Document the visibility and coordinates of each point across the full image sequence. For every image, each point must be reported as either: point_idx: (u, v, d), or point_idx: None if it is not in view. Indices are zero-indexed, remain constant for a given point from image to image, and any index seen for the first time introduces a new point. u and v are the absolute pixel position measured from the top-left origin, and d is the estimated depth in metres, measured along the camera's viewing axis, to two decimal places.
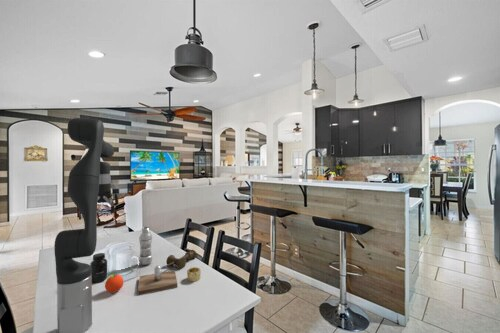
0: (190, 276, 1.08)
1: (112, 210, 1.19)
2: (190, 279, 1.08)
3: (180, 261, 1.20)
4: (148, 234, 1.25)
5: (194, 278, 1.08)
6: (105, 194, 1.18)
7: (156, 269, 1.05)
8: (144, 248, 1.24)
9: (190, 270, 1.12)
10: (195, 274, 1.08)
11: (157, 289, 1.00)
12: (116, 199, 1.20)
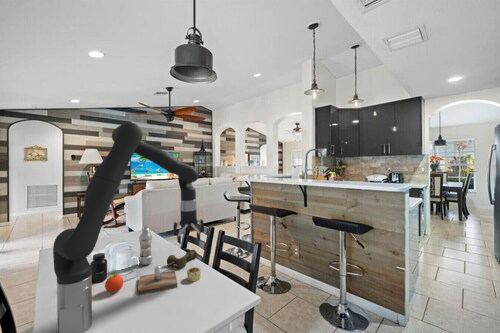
0: (190, 276, 1.08)
1: (198, 237, 1.13)
2: (190, 279, 1.08)
3: (180, 261, 1.20)
4: (148, 234, 1.25)
5: (194, 278, 1.08)
6: (192, 221, 1.11)
7: (156, 269, 1.05)
8: (144, 248, 1.24)
9: (190, 270, 1.12)
10: (195, 274, 1.08)
11: (157, 289, 1.00)
12: (202, 226, 1.13)
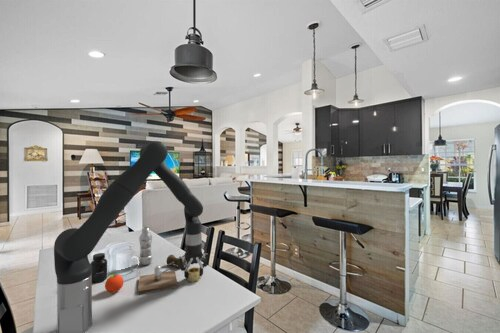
0: (190, 276, 1.08)
1: (201, 272, 1.11)
2: (190, 279, 1.08)
3: None
4: (148, 234, 1.25)
5: (194, 278, 1.08)
6: (197, 254, 1.10)
7: (156, 269, 1.05)
8: (144, 248, 1.24)
9: (190, 270, 1.12)
10: (195, 274, 1.08)
11: (157, 289, 1.00)
12: (206, 260, 1.12)
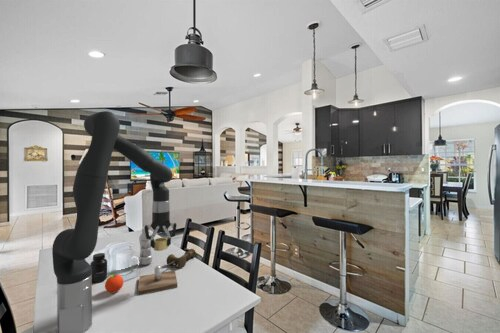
0: (156, 245, 1.03)
1: (169, 242, 1.07)
2: (156, 248, 1.03)
3: (180, 260, 1.21)
4: None
5: (160, 247, 1.03)
6: (164, 223, 1.06)
7: (156, 269, 1.05)
8: (144, 248, 1.24)
9: (157, 240, 1.07)
10: (161, 243, 1.03)
11: (157, 289, 1.00)
12: (174, 230, 1.07)
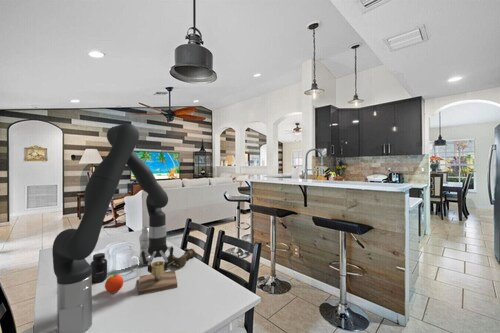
0: (153, 270, 1.04)
1: (166, 266, 1.07)
2: (153, 273, 1.04)
3: (181, 260, 1.22)
4: (148, 234, 1.25)
5: (157, 272, 1.04)
6: (161, 248, 1.06)
7: None
8: (144, 248, 1.24)
9: (154, 264, 1.08)
10: (158, 268, 1.04)
11: (157, 289, 1.00)
12: (171, 254, 1.08)
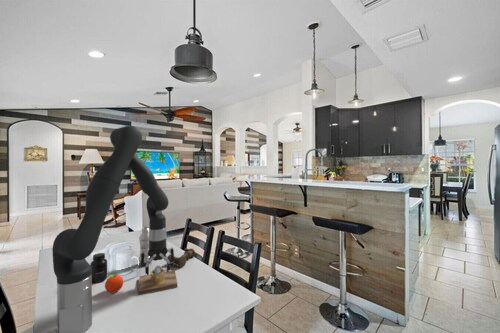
0: (153, 277, 1.04)
1: (168, 267, 1.07)
2: (153, 281, 1.04)
3: (181, 260, 1.22)
4: (148, 234, 1.25)
5: (157, 279, 1.04)
6: (161, 250, 1.06)
7: (156, 269, 1.05)
8: (144, 248, 1.24)
9: None
10: (158, 275, 1.04)
11: (157, 289, 1.00)
12: (172, 255, 1.08)
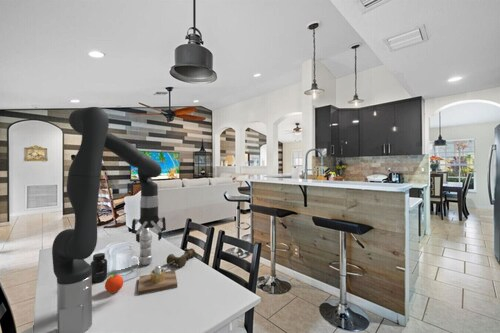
0: (153, 277, 1.04)
1: (159, 236, 1.06)
2: (153, 281, 1.04)
3: (181, 260, 1.22)
4: (148, 234, 1.25)
5: (157, 279, 1.04)
6: (152, 218, 1.05)
7: (156, 269, 1.05)
8: (144, 248, 1.24)
9: None
10: (158, 275, 1.04)
11: (157, 289, 1.00)
12: (164, 224, 1.06)
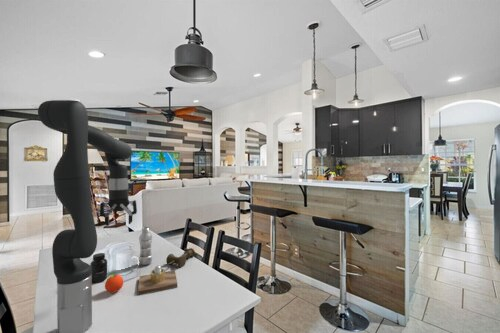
0: (153, 277, 1.04)
1: (130, 220, 1.04)
2: (153, 281, 1.04)
3: (181, 259, 1.22)
4: (148, 234, 1.25)
5: (157, 279, 1.04)
6: (122, 201, 1.02)
7: (156, 269, 1.05)
8: (144, 248, 1.24)
9: None
10: (158, 275, 1.04)
11: (157, 289, 1.00)
12: (134, 207, 1.04)
